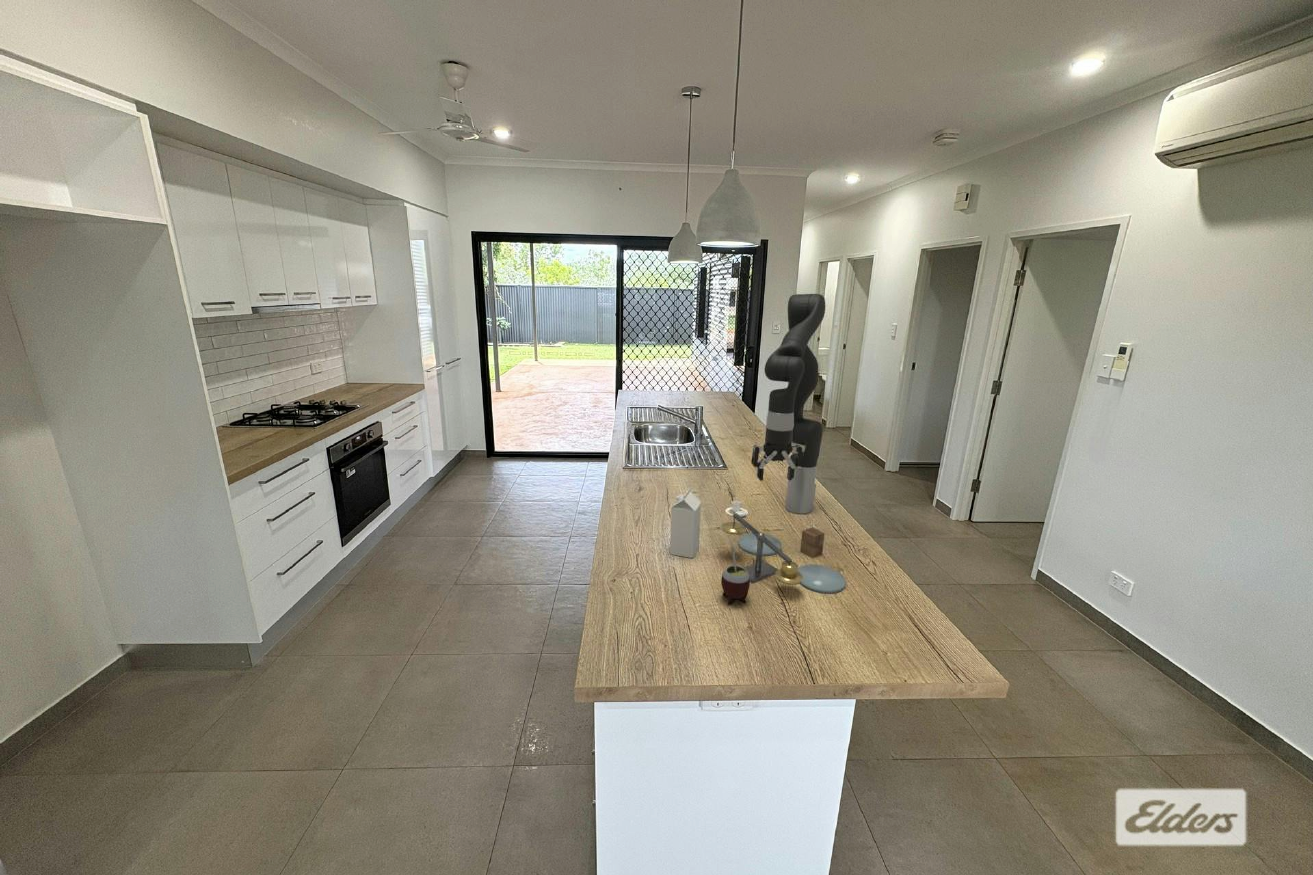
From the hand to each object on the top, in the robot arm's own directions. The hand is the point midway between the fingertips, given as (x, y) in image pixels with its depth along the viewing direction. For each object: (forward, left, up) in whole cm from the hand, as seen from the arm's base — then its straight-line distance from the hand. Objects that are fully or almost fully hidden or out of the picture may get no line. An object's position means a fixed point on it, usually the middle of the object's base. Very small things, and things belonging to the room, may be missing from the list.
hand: (774, 479), depth 150 cm
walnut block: (-8, +9, -22) cm, 25 cm away
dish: (+2, +21, -22) cm, 30 cm away
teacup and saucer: (-6, -24, -23) cm, 34 cm away
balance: (+14, +9, -22) cm, 27 cm away
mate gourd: (+28, +15, -22) cm, 38 cm away
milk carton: (+24, -11, -22) cm, 34 cm away
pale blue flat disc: (+2, -2, -22) cm, 22 cm away
